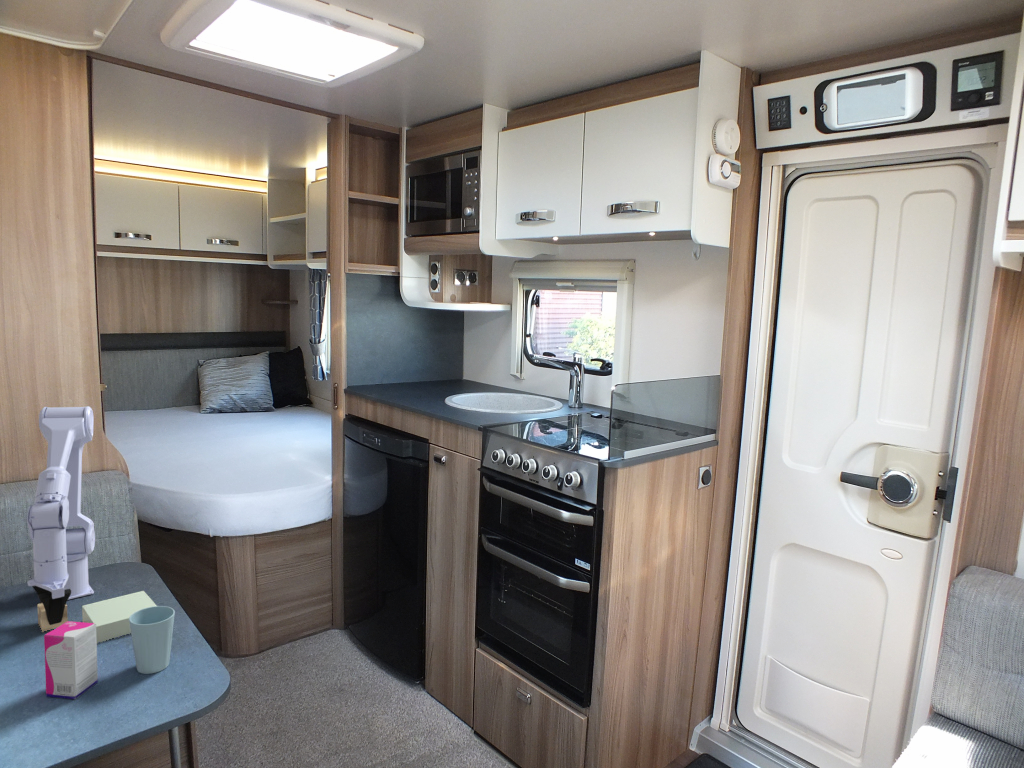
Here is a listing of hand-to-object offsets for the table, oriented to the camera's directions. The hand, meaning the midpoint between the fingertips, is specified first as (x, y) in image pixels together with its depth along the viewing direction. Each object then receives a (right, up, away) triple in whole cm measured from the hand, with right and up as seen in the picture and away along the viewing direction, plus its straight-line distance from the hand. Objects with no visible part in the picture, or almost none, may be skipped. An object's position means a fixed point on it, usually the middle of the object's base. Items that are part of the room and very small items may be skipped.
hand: (52, 618), depth 141 cm
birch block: (0, -1, 0) cm, 1 cm away
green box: (+13, -2, +2) cm, 14 cm away
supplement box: (+19, -5, -22) cm, 29 cm away
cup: (+29, -5, -13) cm, 32 cm away
